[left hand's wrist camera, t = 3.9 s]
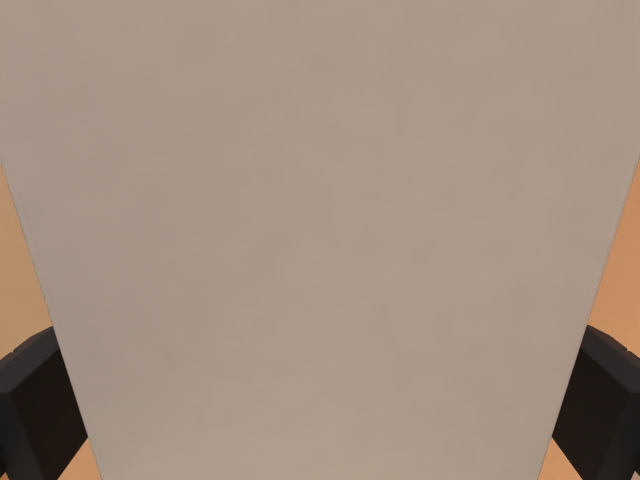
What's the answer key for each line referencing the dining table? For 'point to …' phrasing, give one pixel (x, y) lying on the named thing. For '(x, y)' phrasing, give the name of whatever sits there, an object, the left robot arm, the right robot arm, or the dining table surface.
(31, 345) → the left robot arm
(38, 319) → the dining table surface
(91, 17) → the box
